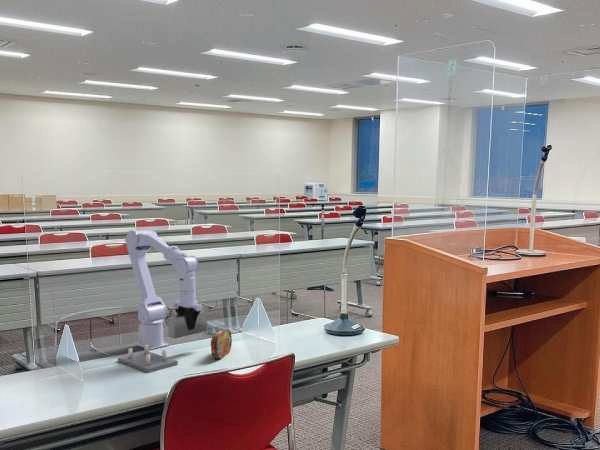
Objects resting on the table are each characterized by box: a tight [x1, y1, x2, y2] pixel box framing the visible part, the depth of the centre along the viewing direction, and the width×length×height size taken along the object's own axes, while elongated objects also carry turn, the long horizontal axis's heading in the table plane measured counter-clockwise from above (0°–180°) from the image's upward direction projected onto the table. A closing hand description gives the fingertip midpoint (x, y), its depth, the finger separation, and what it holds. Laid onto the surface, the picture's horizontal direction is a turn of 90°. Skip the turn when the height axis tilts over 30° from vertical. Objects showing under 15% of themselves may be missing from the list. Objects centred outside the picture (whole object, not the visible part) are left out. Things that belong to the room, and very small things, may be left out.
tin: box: [210, 328, 233, 360], centre depth 187 cm, size 15×3×8 cm, turn 168°
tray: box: [117, 345, 178, 374], centre depth 179 cm, size 19×11×4 cm, turn 48°
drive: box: [168, 310, 208, 339], centre depth 189 cm, size 4×14×7 cm, turn 138°
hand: (188, 328), depth 189 cm, fingers closed on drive, 3 cm apart
